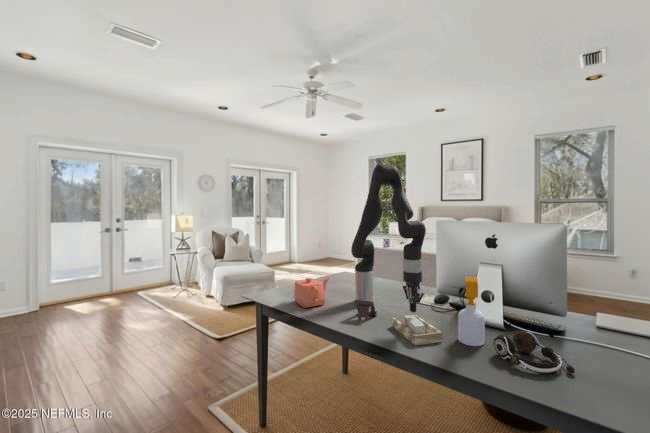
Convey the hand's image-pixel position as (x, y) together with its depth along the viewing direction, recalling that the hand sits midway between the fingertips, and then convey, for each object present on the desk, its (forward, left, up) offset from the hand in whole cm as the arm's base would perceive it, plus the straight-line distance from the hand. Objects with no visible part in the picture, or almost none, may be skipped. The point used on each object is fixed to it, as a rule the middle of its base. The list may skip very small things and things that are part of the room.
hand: (413, 311), depth 130 cm
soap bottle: (+15, +16, -8) cm, 23 cm away
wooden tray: (+2, 0, -8) cm, 8 cm away
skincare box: (-3, -1, -5) cm, 6 cm away
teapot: (-48, -31, -8) cm, 58 cm away
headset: (+33, +24, -9) cm, 42 cm away
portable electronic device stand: (-20, -13, -9) cm, 26 cm away
